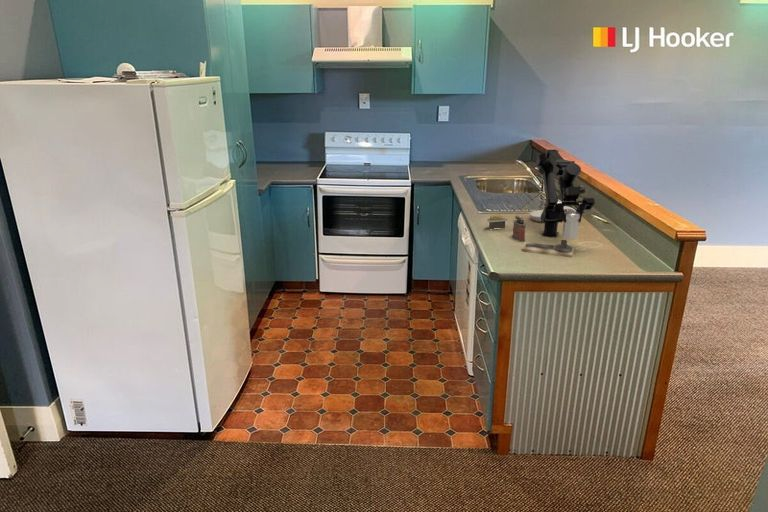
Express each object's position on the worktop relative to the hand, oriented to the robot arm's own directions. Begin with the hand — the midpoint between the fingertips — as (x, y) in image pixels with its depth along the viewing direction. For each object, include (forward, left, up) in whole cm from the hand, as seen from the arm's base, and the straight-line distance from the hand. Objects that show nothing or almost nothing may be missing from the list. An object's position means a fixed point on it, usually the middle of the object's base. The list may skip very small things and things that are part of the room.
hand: (572, 222), depth 218 cm
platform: (-24, -35, -14) cm, 45 cm away
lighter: (-13, -23, -14) cm, 29 cm away
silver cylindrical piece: (-1, -1, -7) cm, 7 cm away
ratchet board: (-2, -9, -13) cm, 16 cm away
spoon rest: (-49, -12, -14) cm, 52 cm away
